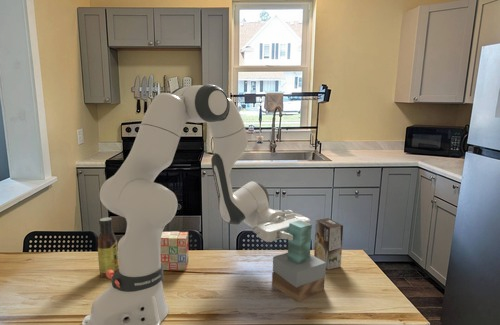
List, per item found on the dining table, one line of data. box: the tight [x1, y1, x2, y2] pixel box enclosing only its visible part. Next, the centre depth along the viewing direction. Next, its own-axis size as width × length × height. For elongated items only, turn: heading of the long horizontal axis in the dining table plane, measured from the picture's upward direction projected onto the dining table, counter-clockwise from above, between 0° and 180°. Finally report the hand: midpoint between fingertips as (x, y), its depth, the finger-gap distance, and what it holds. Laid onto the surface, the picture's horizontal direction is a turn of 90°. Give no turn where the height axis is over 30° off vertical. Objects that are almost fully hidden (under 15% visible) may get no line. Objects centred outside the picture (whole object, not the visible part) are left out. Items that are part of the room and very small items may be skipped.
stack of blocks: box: [161, 231, 189, 271], centre depth 122 cm, size 21×6×12 cm, turn 92°
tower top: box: [272, 252, 326, 288], centre depth 109 cm, size 12×12×5 cm
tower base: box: [271, 271, 326, 303], centre depth 110 cm, size 12×12×5 cm
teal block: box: [287, 220, 313, 264], centre depth 108 cm, size 5×5×12 cm
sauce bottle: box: [96, 216, 119, 278], centre depth 116 cm, size 7×6×20 cm
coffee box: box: [313, 217, 344, 270], centre depth 126 cm, size 9×6×16 cm
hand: (301, 235), depth 107 cm, fingers open, 6 cm apart
